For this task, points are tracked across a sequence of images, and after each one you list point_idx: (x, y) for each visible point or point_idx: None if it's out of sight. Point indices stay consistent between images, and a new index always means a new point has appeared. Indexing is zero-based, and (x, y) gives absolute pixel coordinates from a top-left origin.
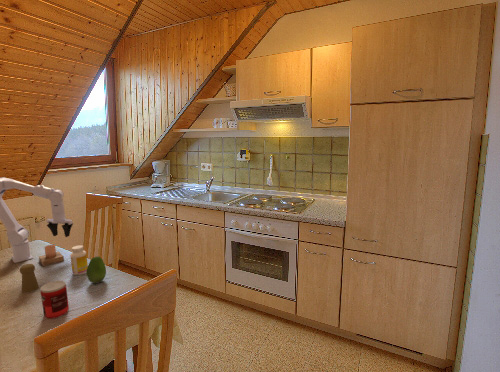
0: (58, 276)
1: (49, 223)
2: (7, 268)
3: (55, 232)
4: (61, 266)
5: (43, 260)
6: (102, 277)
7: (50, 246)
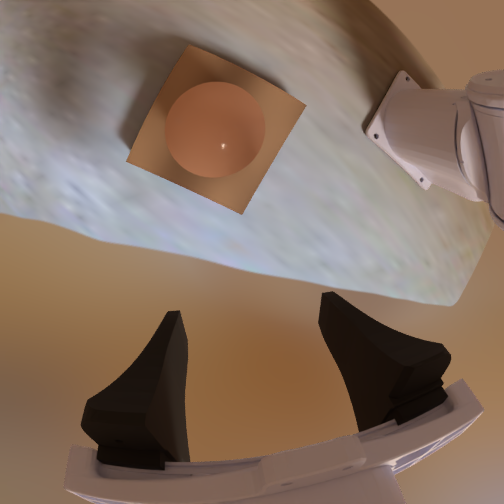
0: (21, 33)
1: (436, 389)
2: (375, 15)
3: (334, 331)
4: (80, 94)
5: (202, 56)
6: None
7: (205, 128)
